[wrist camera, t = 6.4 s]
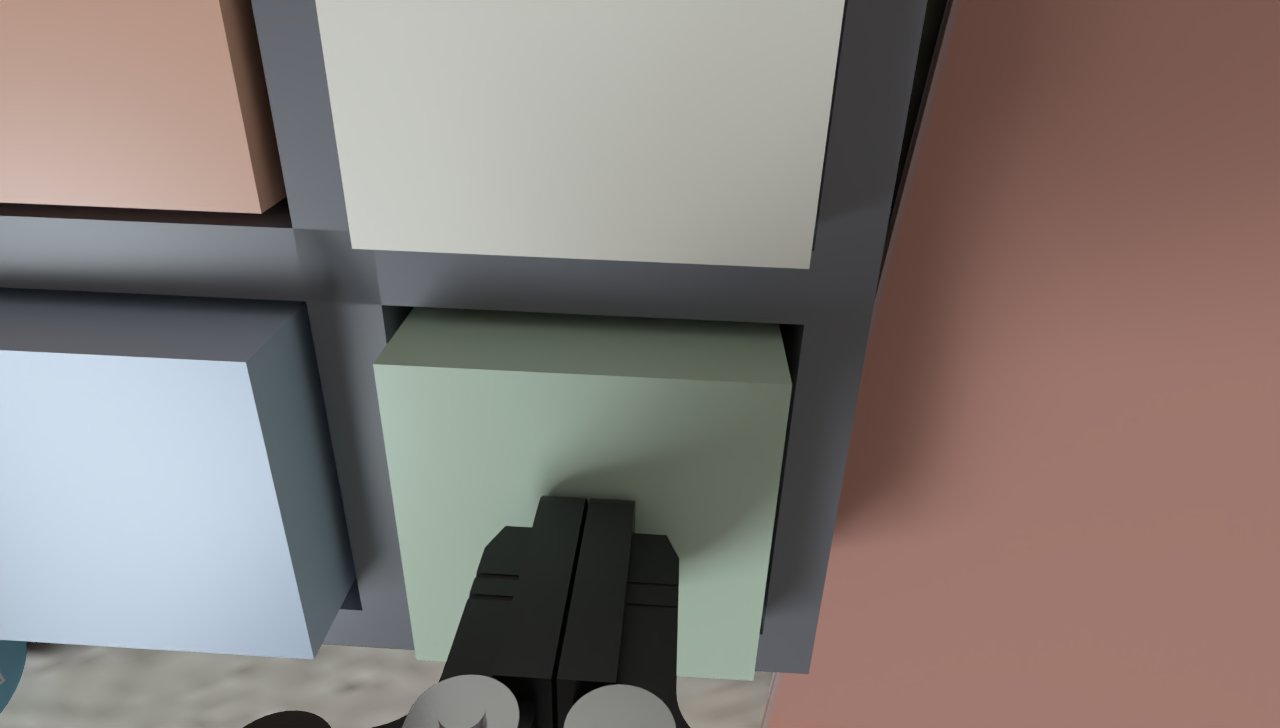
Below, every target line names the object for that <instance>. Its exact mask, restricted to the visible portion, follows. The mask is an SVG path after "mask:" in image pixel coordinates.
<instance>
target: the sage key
mask: <svg viewBox="0 0 1280 728" xmlns="http://www.w3.org/2000/svg"><path fill="white" fill-rule="evenodd" d="M373 368H374V375H375V382H376V388H377V395H378V402H379V409H380V416H381V423H382V429H383V436H384V443H385V450H386V457H387V464H388V471H389V477H390V484H391V491H392V498H393V505H394V512H395V518H396V525H397V532H398V539H399V546H400V553H401V559H402V566H403V573H404V580H405V587H406V594H407V601H408V607H409V614H410V621H411V628H412V635H413V642H414V648H415V655H416V660H427V661H443V662H446V661H447V658H448V655H449V652H450V649H451V646H452V643H453V640H454V637H455V634H456V631H457V629H458V626H459V623H460V620H461V617H462V614H463V611H464V608H465V605H466V602H467V599H469V593H470V590H471V587H472V584H473V581H474V578H476V572H477V569H478V566H479V563H480V560H481V557H482V554H483V552H484V549H485V547H486V546H487V545H488V544H489V543H490V541H491V540H492V539H493V538H494V537H495V536H496V535H497V534H498V533H499V532H500V531H501V530H502V529H503V528H504V527H505V526H517V527H532V526H533V522H534V518H535V515H536V511H537V507H538V504H539V500H540V498H541V496H542V495H543V496H561V497H578V498H587V500H588V505H589V501H590V498H599V499H616V500H634V501H636V512H635V533H639V534H656V535H667V537H668V539H669V541H670V542H671V544H672V546H673V548H674V550H675V552H676V553H677V555H678V557H679V595H678V636H677V676H685V677H701V678H717V679H734V680H750V681H753V679H754V672H755V664H756V657H757V649H758V641H759V634H760V626H761V619H762V611H763V603H764V596H765V588H766V581H767V573H768V565H769V558H770V550H771V542H772V535H773V527H774V520H775V512H776V504H777V497H778V489H779V482H780V474H781V466H782V459H783V451H784V444H785V436H786V428H787V421H788V413H789V406H790V398H791V390H792V381H791V377H790V372H789V368H788V363H787V359H786V354H785V350H784V345H783V341H782V336H781V331H780V327H779V324H777V323H756V322H734V321H713V320H691V319H670V318H649V317H627V316H606V315H584V314H563V313H541V312H520V311H499V310H477V309H456V308H434V307H414V308H413V309H412V311H411V312H410V313H409V315H408V316H407V318H406V319H405V320H404V322H403V323H402V324H401V326H400V327H399V329H398V330H397V331H396V333H395V334H394V336H393V337H392V338H391V340H390V341H389V343H388V344H387V345H386V347H385V348H384V349H383V351H382V352H381V354H380V355H379V356H378V358H377V359H376V361H375V362H374V363H373Z"/></svg>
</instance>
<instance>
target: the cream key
mask: <svg viewBox="0 0 1280 728" xmlns="http://www.w3.org/2000/svg"><path fill="white" fill-rule="evenodd" d="M315 2H316V9H317V16H318V23H319V29H320V36H321V43H322V50H323V56H324V63H325V70H326V76H327V83H328V90H329V97H330V103H331V110H332V117H333V124H334V130H335V137H336V144H337V151H338V157H339V164H340V171H341V177H342V184H343V191H344V198H345V204H346V211H347V218H348V225H349V231H350V238H351V245H352V249H368V250H391V251H413V252H436V253H458V254H481V255H504V256H526V257H549V258H571V259H594V260H617V261H639V262H662V263H684V264H707V265H730V266H752V267H775V268H797V269H809V267H810V259H811V252H812V244H813V237H814V229H815V222H816V214H817V206H818V199H819V191H820V184H821V176H822V169H823V161H824V154H825V146H826V139H827V131H828V123H829V116H830V108H831V101H832V93H833V86H834V78H835V71H836V63H837V56H838V48H839V40H840V33H841V25H842V18H843V10H844V3H845V0H315Z"/></svg>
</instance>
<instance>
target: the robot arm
mask: <svg viewBox="0 0 1280 728" xmlns="http://www.w3.org/2000/svg"><path fill="white" fill-rule="evenodd" d="M635 512H636V501H634V500H616V499H599V498H590V501H589V505H588V500H587V498H578V497H561V496H543V495H542V496H541V498H540V500H539V504H538V507H537V511H536V515H535V518H534V522H533V526H532V527H517V526H505V527H504V528H503V529H502V530H501V531H500V532H499V533H498V534H497V535H496V536H495V537H494V538H493V539H492V540H491V541H490V543H489V544H488V545H487V546H486V547H485V549H484V552H483V554H482V557H481V560H480V563H479V566H478V569H477V572H476V578H474V581H473V584H472V587H471V590H470V593H469V599H467V602H466V605H465V608H464V611H463V614H462V617H461V620H460V623H459V626H458V629H457V631H456V634H455V637H454V640H453V643H452V646H451V649H450V652H449V655H448V658H447V661H446V664H445V667H444V670H443V673H442V676H441V678H440V680H439V683H437V684H435V685H433V686H432V687H431V688H429V689H428V690H426V691H425V692H424V693H423V694H422V695H421V696H420V697H419V698H418V699H417V700H416V701H415V703H414V704H413V706H412V707H411V709H410V711H409V713H408V714H407V715H405V716H404V717H402V718H400V719H398V720H395V721H393V722H391V723H388V724H384V725H381V726H377V727H373V728H690V727H689V726H688V724H687V723H686V721H685V720H684V718H683V716H682V714H681V712H680V710H679V707H678V703H677V696H676V677H677V636H678V595H679V557H678V555H677V553H676V552H675V550H674V548H673V546H672V544H671V542H670V541H669V539H668V537H667V535H656V534H639V533H635ZM243 728H331V727H330V725H329V724H328V723H327V722H326V721H325V720H324V719H322V718H321V717H319V716H317V715H315V714H312V713H309V712H304V711H284V712H278V713H274V714H271V715H267V716H264V717H262V718H260V719H258V720H255V721H253V722H252V723H250V724H248V725H246V726H245V727H243Z"/></svg>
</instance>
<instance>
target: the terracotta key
mask: <svg viewBox="0 0 1280 728" xmlns="http://www.w3.org/2000/svg"><path fill="white" fill-rule="evenodd" d="M285 197H287V194H286V189H285V183H284V178H283V172H282V167H281V161H280V156H279V150H278V145H277V139H276V134H275V128H274V123H273V117H272V112H271V106H270V101H269V95H268V90H267V85H266V79H265V74H264V68H263V63H262V57H261V52H260V46H259V41H258V35H257V30H256V24H255V19H254V13H253V8H252V2H251V0H0V202H1V203H24V204H48V205H71V206H94V207H118V208H141V209H164V210H187V211H211V212H234V213H257V214H262V213H263V212H265V211H266V210H268V209H269V208H271V207H272V206H274V205H275V204H277V203H278V202H279V201H281V200H282V199H284V198H285Z"/></svg>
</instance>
